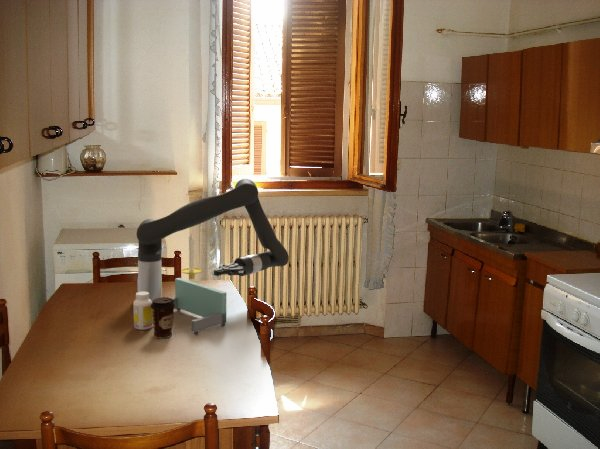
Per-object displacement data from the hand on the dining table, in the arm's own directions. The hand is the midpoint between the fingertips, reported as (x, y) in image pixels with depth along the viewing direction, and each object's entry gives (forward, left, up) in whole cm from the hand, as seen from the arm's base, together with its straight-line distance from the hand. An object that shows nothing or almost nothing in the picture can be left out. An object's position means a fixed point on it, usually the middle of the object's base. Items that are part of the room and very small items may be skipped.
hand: (215, 273), depth 261 cm
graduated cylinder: (-29, +12, -17) cm, 35 cm away
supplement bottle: (-7, -28, -17) cm, 34 cm away
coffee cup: (+5, -28, -17) cm, 33 cm away
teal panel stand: (0, -14, -16) cm, 21 cm away
